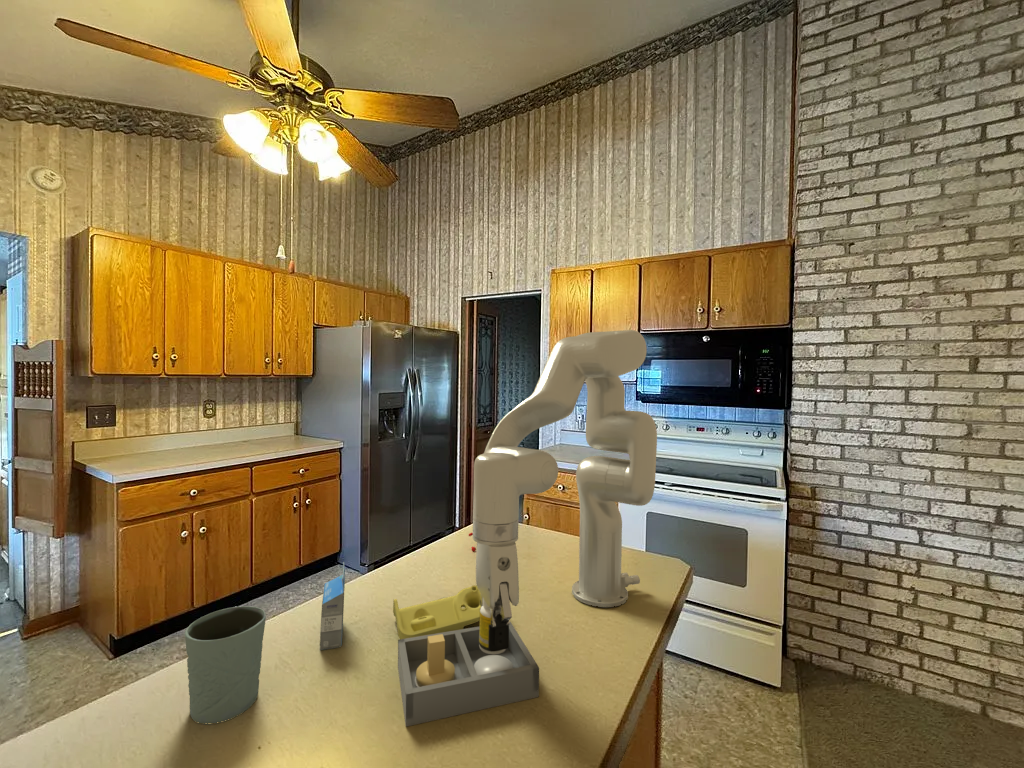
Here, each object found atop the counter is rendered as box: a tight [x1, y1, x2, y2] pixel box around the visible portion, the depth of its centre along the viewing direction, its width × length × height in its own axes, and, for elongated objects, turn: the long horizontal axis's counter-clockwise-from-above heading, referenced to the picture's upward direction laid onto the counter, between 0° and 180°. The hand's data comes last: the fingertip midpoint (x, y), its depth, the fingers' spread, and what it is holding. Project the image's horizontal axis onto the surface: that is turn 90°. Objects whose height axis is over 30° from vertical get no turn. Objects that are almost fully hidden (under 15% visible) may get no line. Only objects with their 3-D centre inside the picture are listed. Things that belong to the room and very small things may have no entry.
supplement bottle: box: [479, 598, 506, 654], centre depth 74 cm, size 5×5×8 cm
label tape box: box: [319, 561, 346, 651], centre depth 85 cm, size 9×4×12 cm, turn 20°
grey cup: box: [184, 605, 267, 725], centre depth 67 cm, size 10×10×12 cm
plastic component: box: [392, 584, 481, 640], centre depth 90 cm, size 20×7×10 cm
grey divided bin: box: [397, 621, 540, 727], centre depth 72 cm, size 20×14×8 cm
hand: (493, 638), depth 74 cm, fingers closed on supplement bottle, 4 cm apart
